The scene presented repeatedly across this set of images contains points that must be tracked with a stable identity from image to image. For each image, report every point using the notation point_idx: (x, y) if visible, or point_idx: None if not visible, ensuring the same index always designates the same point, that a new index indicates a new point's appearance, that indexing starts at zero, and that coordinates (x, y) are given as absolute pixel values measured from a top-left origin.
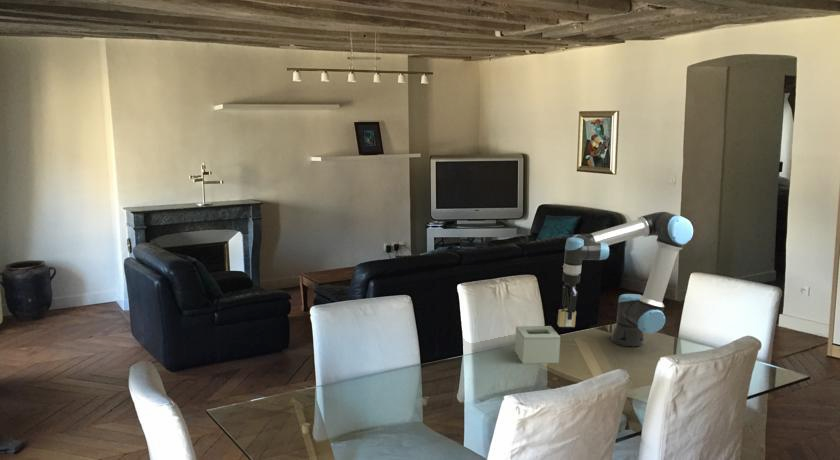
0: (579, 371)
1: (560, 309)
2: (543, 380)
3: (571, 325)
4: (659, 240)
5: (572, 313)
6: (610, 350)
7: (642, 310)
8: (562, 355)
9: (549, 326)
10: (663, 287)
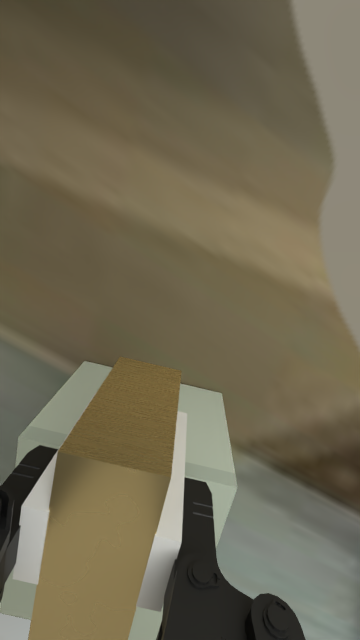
0: (329, 355)
1: (35, 626)
2: (342, 520)
3: (186, 417)
4: None
5: (180, 523)
6: (141, 5)
7: None
8: (142, 326)
9: (26, 449)
10: None
